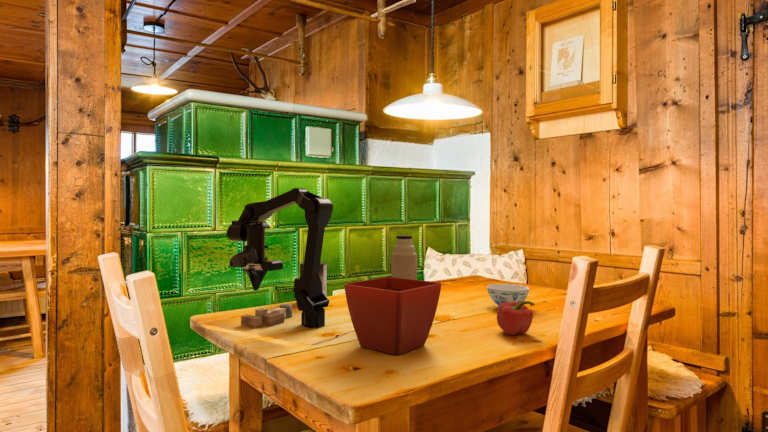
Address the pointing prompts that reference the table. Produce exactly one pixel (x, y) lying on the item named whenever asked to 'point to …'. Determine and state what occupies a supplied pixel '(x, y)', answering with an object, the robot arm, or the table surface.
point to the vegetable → (514, 317)
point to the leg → (282, 309)
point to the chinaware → (507, 293)
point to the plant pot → (392, 312)
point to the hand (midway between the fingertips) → (255, 290)
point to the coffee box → (321, 274)
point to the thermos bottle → (404, 258)
